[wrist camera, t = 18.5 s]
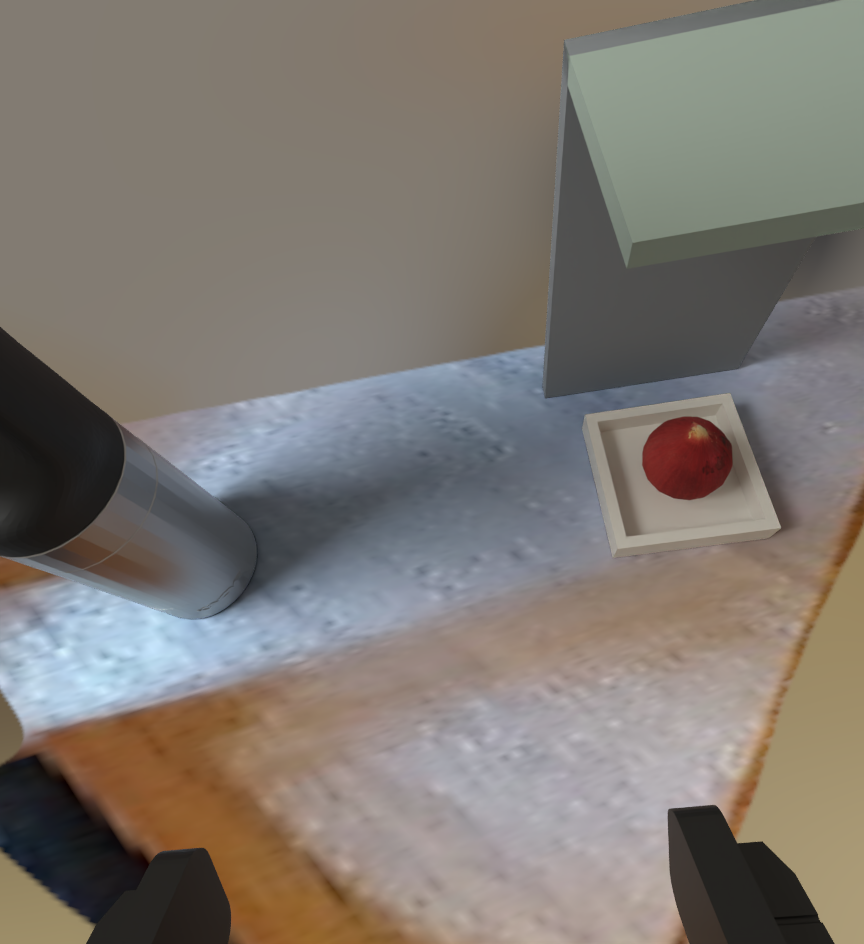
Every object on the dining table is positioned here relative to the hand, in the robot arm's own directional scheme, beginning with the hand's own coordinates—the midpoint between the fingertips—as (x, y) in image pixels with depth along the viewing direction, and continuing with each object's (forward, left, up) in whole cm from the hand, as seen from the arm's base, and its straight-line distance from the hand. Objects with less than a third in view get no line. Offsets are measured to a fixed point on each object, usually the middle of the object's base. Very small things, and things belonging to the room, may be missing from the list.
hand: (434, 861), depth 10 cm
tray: (-4, +24, -31) cm, 39 cm away
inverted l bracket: (-7, +27, -31) cm, 41 cm away
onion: (-4, +24, -30) cm, 39 cm away
